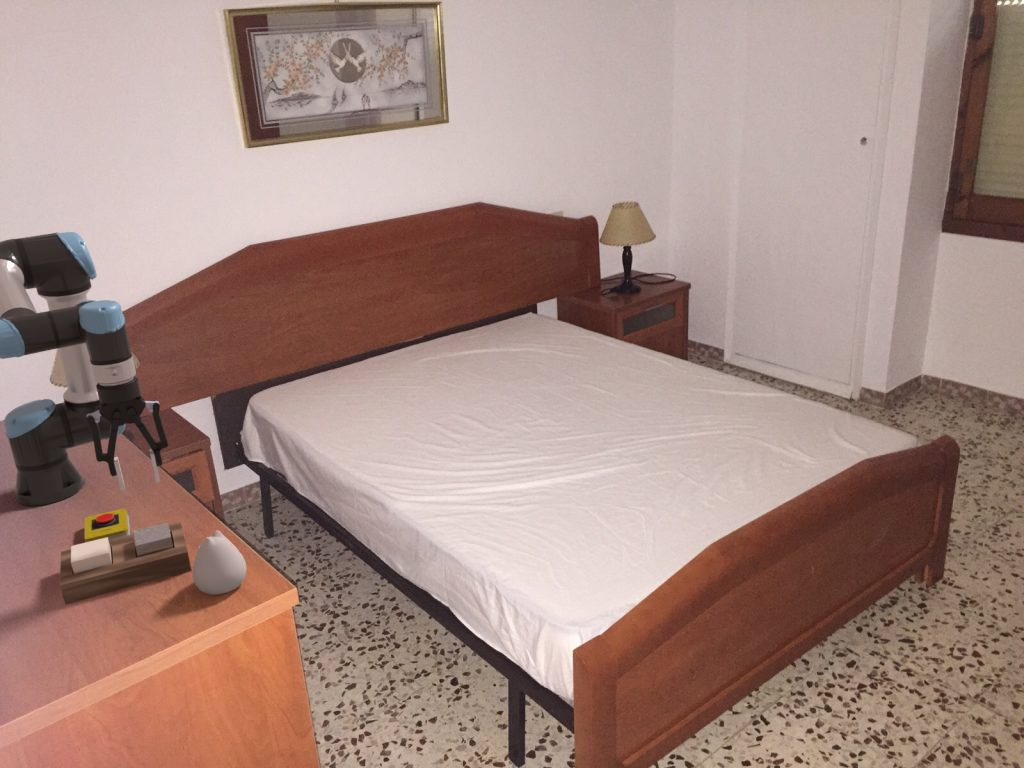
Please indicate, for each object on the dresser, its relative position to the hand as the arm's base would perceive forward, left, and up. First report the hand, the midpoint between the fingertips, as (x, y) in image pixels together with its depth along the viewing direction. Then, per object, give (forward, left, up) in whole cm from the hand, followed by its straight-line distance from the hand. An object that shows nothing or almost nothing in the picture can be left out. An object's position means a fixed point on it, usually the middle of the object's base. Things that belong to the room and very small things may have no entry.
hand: (140, 483), depth 171 cm
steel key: (0, 0, -15) cm, 15 cm away
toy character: (+16, +11, -19) cm, 27 cm away
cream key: (0, -12, -15) cm, 19 cm away
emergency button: (-19, -9, -20) cm, 29 cm away
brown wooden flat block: (0, -6, -19) cm, 20 cm away
